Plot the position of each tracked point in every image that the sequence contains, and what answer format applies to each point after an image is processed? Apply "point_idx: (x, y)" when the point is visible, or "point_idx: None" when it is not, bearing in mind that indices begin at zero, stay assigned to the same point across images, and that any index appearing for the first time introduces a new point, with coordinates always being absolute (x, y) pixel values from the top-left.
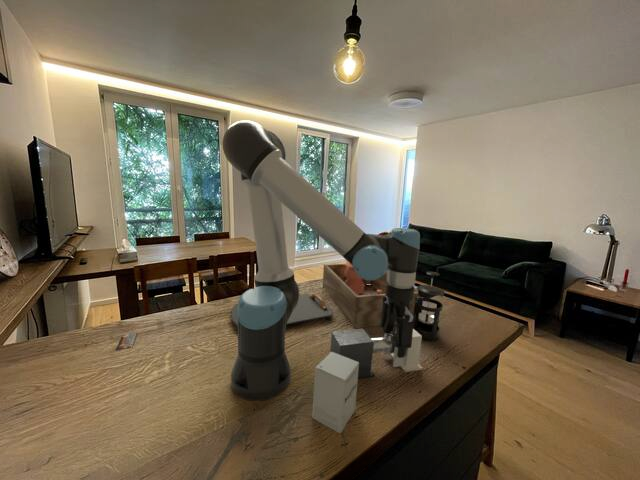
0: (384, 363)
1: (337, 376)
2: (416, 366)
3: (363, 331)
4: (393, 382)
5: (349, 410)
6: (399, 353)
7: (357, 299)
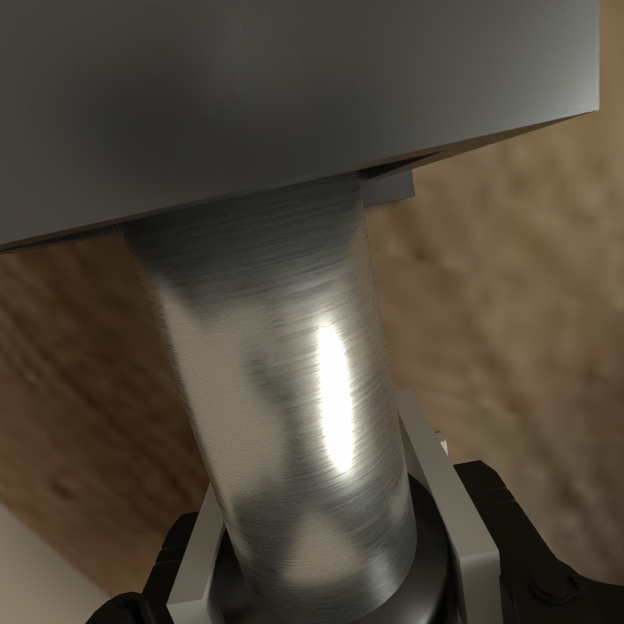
0: None
1: None
2: None
3: (397, 91)
4: (118, 369)
5: None
6: (167, 555)
7: None
